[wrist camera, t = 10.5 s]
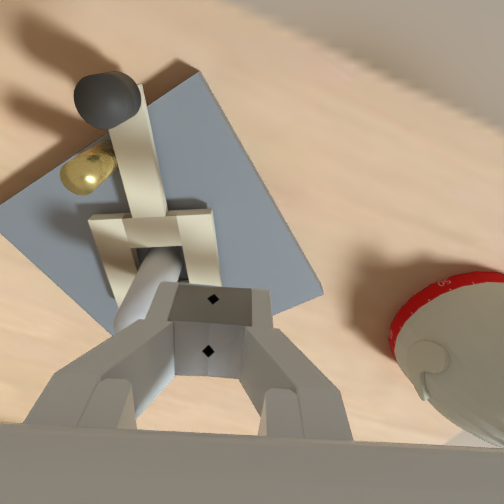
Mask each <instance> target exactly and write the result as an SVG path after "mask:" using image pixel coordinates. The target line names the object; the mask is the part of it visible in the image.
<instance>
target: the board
mask: <svg viewBox="0 0 504 504" xmlns="http://www.w3.org/2000/svg"><path fill="white" fill-rule="evenodd" d="M147 110H148V115H149V120H150V125H151V129H152V134H153V139H154V144H155V149H156V154H157V158H158V163H159V168H160V173H161V178H162V183H163V187H164V192H165V197H166V202H167V207H168V211H171V210H190V209H209V208H212V210H213V218H214V226H215V233H216V241H217V249H218V256H219V264H220V272H221V279H222V287H235V288H262V289H269V290H270V296H271V307H272V316H273V315H275V314H278V313H280V312H282V311H285V310H287V309H290V308H292V307H294V306H297V305H299V304H302V303H304V302H306V301H309V300H311V299H314V298H316V297H319V296H321V295H323V294H324V292H323V289H322V285H321V283H320V281H319V279H318V278H317V276H316V274H315V272H314V271H313V269H312V267H311V265H310V264H309V262H308V260H307V258H306V257H305V255H304V253H303V251H302V250H301V248H300V246H299V244H298V242H297V241H296V239H295V237H294V235H293V234H292V232H291V230H290V228H289V227H288V225H287V223H286V221H285V220H284V218H283V216H282V214H281V213H280V211H279V209H278V207H277V206H276V204H275V202H274V200H273V198H272V197H271V195H270V193H269V191H268V190H267V188H266V186H265V184H264V183H263V181H262V179H261V177H260V176H259V174H258V172H257V170H256V169H255V167H254V165H253V163H252V161H251V160H250V158H249V156H248V154H247V153H246V151H245V149H244V147H243V146H242V144H241V142H240V140H239V139H238V137H237V135H236V133H235V132H234V130H233V128H232V126H231V125H230V123H229V121H228V119H227V117H226V116H225V114H224V112H223V110H222V109H221V107H220V105H219V103H218V102H217V100H216V98H215V96H214V95H213V93H212V91H211V89H210V88H209V86H208V84H207V82H206V80H205V79H204V77H203V75H202V73H201V72H200V71H199V72H197V73H196V74H194V75H193V76H191V77H190V78H188V79H187V80H185V81H184V82H182V83H181V84H179V85H178V86H176V87H175V88H173V89H172V90H170V91H169V92H167V93H166V94H164V95H163V96H162V97H160V98H159V99H157V100H156V101H154V102H153V103H151V104H150V105H148V106H147ZM103 140H111V137H110V134H109V132H108V133H106V134H105V135H104V136H102V137H101V138H99V139H98V140H96V141H95V142H93V143H92V144H90V145H89V146H87V147H86V148H84V149H83V150H81V151H80V152H78V153H77V154H75V155H74V156H72V157H71V158H69V159H68V160H66V161H65V162H63V163H62V164H60V165H59V166H57V167H56V168H54V169H53V170H51V171H50V172H48V173H47V174H46V175H44V176H43V177H41V178H40V179H38V180H37V181H35V182H34V183H32V184H31V185H29V186H28V187H26V188H25V189H23V190H22V191H20V192H19V193H17V194H16V195H14V196H13V197H11V198H10V199H8V200H7V201H5V202H4V203H2V204H1V205H0V233H1V234H2V235H3V236H4V237H5V238H6V239H7V240H8V241H9V242H11V243H12V244H13V245H14V246H15V247H16V248H17V249H18V250H19V251H20V252H21V253H23V254H24V255H25V256H26V257H27V258H28V259H29V260H30V261H31V262H32V263H33V264H35V265H36V266H37V267H38V268H39V269H40V270H41V271H42V272H43V273H44V274H45V275H47V276H48V277H49V278H50V279H51V280H52V281H53V282H54V283H55V284H56V285H57V286H59V287H60V288H61V289H62V290H63V291H64V292H65V293H66V294H67V295H68V296H69V297H71V298H72V299H73V300H74V301H75V302H76V303H77V304H78V305H79V306H80V307H81V308H83V309H84V310H85V311H86V312H87V313H88V314H89V315H90V316H91V317H92V318H93V319H95V320H96V321H97V322H98V323H99V324H100V325H101V326H102V327H103V328H104V329H105V330H107V331H108V332H109V333H110V334H111V335H112V336H113V335H115V334H116V333H118V332H120V331H121V330H123V329H124V328H126V327H127V326H129V325H131V324H132V323H134V322H135V321H137V320H138V319H145V317H146V315H147V312H148V310H149V307H150V305H151V303H152V300H153V298H154V295H155V293H156V290H157V288H158V285H159V283H161V282H162V281H168V282H177V281H184V280H189V278H188V273H187V268H186V263H185V258H184V253H183V248H182V246H165V247H145V248H136V250H137V254H138V257H139V261H140V264H141V266H140V268H139V270H138V272H137V274H136V276H135V278H134V280H133V282H132V284H131V286H130V288H129V290H128V292H127V294H126V296H125V298H124V300H123V302H122V304H121V306H120V307H119V308H118V305H117V302H116V299H115V297H114V294H113V291H112V288H111V285H110V282H109V280H108V277H107V274H106V271H105V268H104V265H103V263H102V260H101V257H100V254H99V251H98V248H97V246H96V243H95V240H94V237H93V234H92V231H91V228H90V226H89V223H88V220H89V219H90V218H91V216H92V215H94V214H114V213H131V211H130V207H129V203H128V200H127V196H126V192H125V189H124V185H123V181H122V178H121V174H120V170H119V168H118V169H117V170H116V171H115V172H114V173H113V174H112V175H111V176H110V177H108V178H107V179H106V180H105V181H104V182H103V183H102V184H101V185H100V186H99V187H97V188H96V189H95V190H94V191H93V192H92V193H91V194H88V195H83V196H82V195H76V194H74V193H72V192H70V191H69V190H68V189H67V188H66V187H65V186H64V185H63V184H62V182H61V179H60V169H61V167H62V166H63V165H64V164H65V163H67V162H69V161H70V160H72V159H73V158H75V157H77V156H78V155H80V154H81V153H83V152H85V151H86V150H88V149H89V148H91V147H93V146H94V145H96V144H97V143H99V142H101V141H103Z"/></svg>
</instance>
